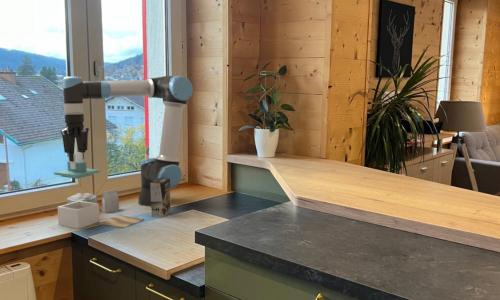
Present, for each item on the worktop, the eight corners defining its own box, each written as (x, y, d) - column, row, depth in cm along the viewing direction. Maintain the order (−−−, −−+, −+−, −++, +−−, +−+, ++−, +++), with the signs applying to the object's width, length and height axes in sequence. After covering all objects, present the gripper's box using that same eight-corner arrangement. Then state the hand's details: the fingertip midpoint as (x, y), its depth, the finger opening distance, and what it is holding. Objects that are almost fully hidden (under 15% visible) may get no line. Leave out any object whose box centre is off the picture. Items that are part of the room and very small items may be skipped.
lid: (78, 171, 213) (77, 158, 212) (99, 174, 207) (99, 160, 206) (54, 176, 201) (53, 163, 201) (76, 179, 195) (75, 165, 194)
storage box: (80, 217, 215) (79, 200, 214) (99, 221, 209) (98, 203, 208) (58, 224, 204) (57, 206, 203) (78, 228, 199) (77, 210, 198)
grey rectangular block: (119, 210, 227) (118, 190, 226) (105, 213, 223) (104, 192, 221) (116, 209, 230) (115, 189, 228) (102, 211, 226) (101, 191, 224)
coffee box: (164, 217, 216) (162, 183, 212) (151, 216, 217) (149, 182, 214) (171, 211, 224) (170, 178, 221) (158, 210, 226) (157, 177, 223)
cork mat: (120, 215, 218) (120, 215, 218) (144, 220, 212) (144, 219, 212) (97, 223, 206) (97, 222, 206) (122, 228, 199) (122, 227, 199)
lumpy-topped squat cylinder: (65, 212, 224) (64, 194, 223) (91, 207, 233) (90, 190, 232) (75, 217, 217) (74, 198, 215) (101, 211, 226) (100, 193, 224)
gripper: (82, 112, 209) (85, 164, 212) (52, 114, 195) (55, 170, 198) (95, 112, 206) (97, 165, 209) (64, 114, 191) (68, 172, 195)
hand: (77, 168), depth 204 cm, fingers closed on lid, 3 cm apart
